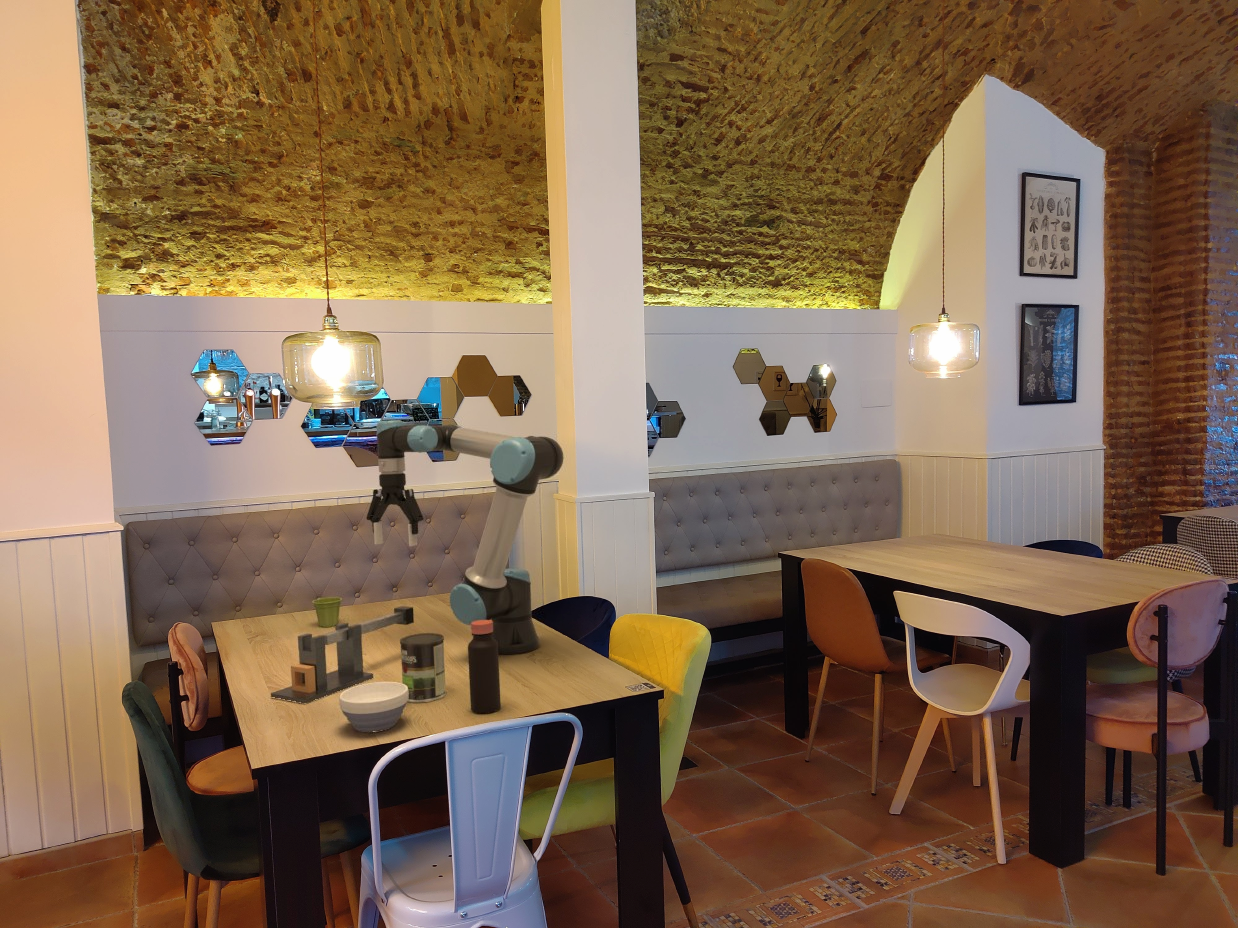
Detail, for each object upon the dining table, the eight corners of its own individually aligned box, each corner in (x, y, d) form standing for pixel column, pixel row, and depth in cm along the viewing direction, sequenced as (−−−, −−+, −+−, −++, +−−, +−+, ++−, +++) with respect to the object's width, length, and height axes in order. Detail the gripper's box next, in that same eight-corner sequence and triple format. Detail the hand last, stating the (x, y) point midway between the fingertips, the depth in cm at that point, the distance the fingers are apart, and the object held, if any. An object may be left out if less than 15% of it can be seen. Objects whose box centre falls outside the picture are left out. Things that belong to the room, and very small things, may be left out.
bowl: (423, 723, 182) (421, 688, 182) (364, 743, 171) (362, 707, 171) (386, 709, 192) (384, 677, 192) (328, 728, 181) (326, 694, 181)
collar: (315, 690, 205) (314, 666, 205) (309, 692, 203) (307, 668, 203) (298, 687, 208) (297, 663, 207) (292, 689, 206) (290, 665, 206)
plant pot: (312, 624, 283) (311, 599, 283) (341, 620, 287) (340, 595, 286) (314, 630, 274) (313, 604, 274) (344, 626, 278) (343, 600, 278)
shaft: (413, 622, 236) (413, 607, 236) (330, 649, 210) (329, 631, 210) (402, 621, 238) (401, 606, 238) (318, 647, 212) (317, 630, 212)
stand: (373, 678, 218) (370, 624, 217) (305, 704, 198) (301, 646, 198) (340, 673, 223) (337, 621, 223) (271, 697, 204) (267, 641, 203)
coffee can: (417, 706, 194) (414, 646, 193) (394, 696, 201) (391, 639, 201) (455, 694, 201) (452, 636, 200) (431, 686, 208) (429, 630, 208)
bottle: (479, 716, 185) (474, 627, 184) (465, 708, 190) (461, 622, 190) (506, 709, 189) (502, 622, 188) (492, 702, 194) (488, 617, 194)
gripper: (351, 474, 248) (355, 545, 249) (415, 473, 236) (419, 548, 237) (370, 472, 254) (374, 541, 255) (433, 471, 242) (437, 544, 243)
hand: (395, 544), depth 246 cm, fingers open, 13 cm apart
